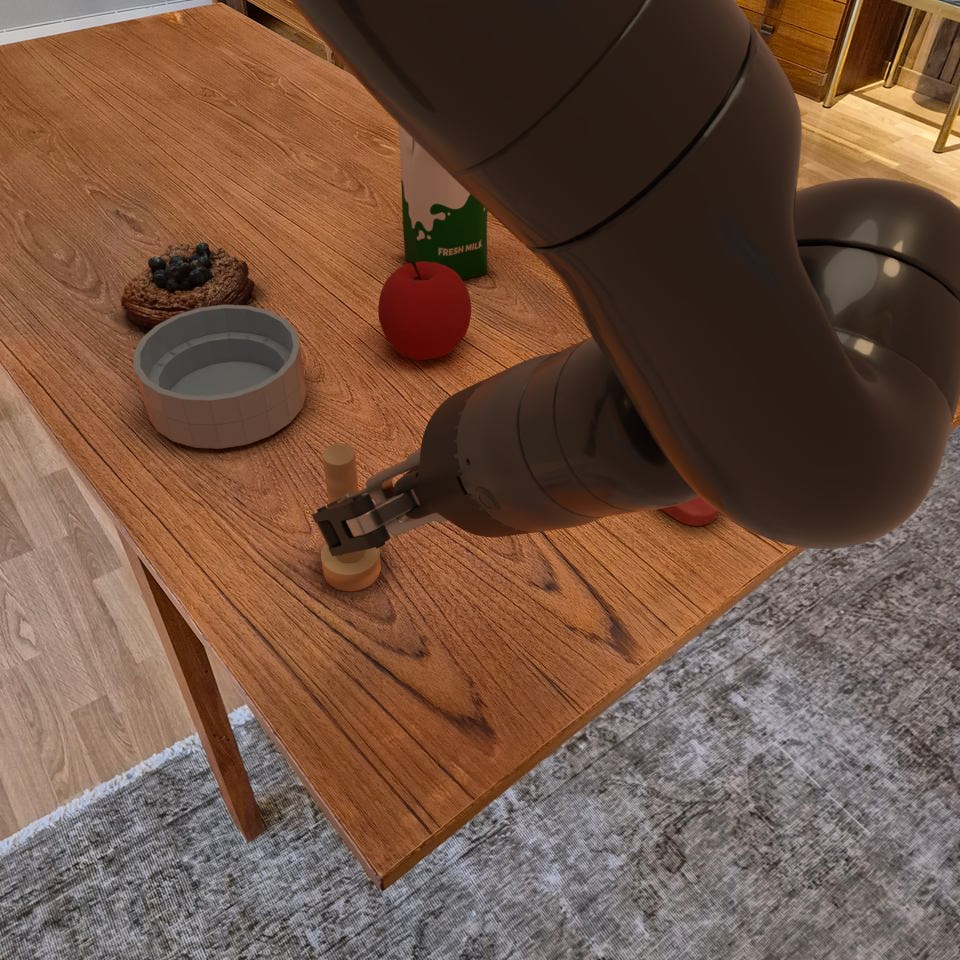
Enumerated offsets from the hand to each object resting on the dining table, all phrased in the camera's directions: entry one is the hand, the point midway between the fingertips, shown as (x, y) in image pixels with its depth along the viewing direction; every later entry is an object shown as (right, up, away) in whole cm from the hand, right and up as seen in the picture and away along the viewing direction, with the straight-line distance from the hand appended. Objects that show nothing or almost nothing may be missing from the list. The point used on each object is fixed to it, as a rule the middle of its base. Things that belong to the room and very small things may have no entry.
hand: (397, 488), depth 54 cm
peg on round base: (-5, -6, +14) cm, 16 cm away
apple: (-1, +14, +35) cm, 38 cm away
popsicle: (+19, +1, +23) cm, 29 cm away
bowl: (-18, +8, +28) cm, 34 cm away
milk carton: (+1, +25, +47) cm, 53 cm away
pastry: (-25, +19, +40) cm, 50 cm away
